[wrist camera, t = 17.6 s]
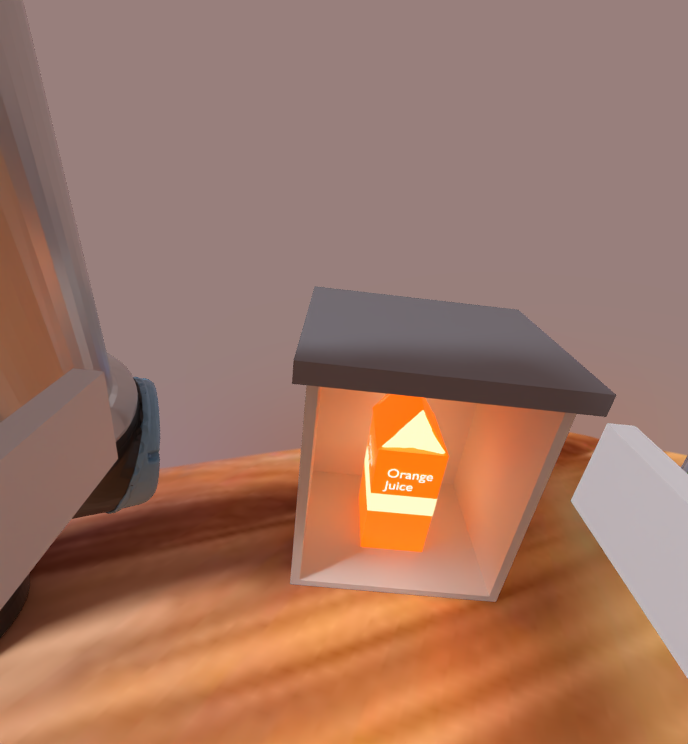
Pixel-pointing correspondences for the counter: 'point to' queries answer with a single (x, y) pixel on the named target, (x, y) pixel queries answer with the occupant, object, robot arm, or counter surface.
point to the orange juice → (401, 474)
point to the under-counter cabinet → (457, 426)
